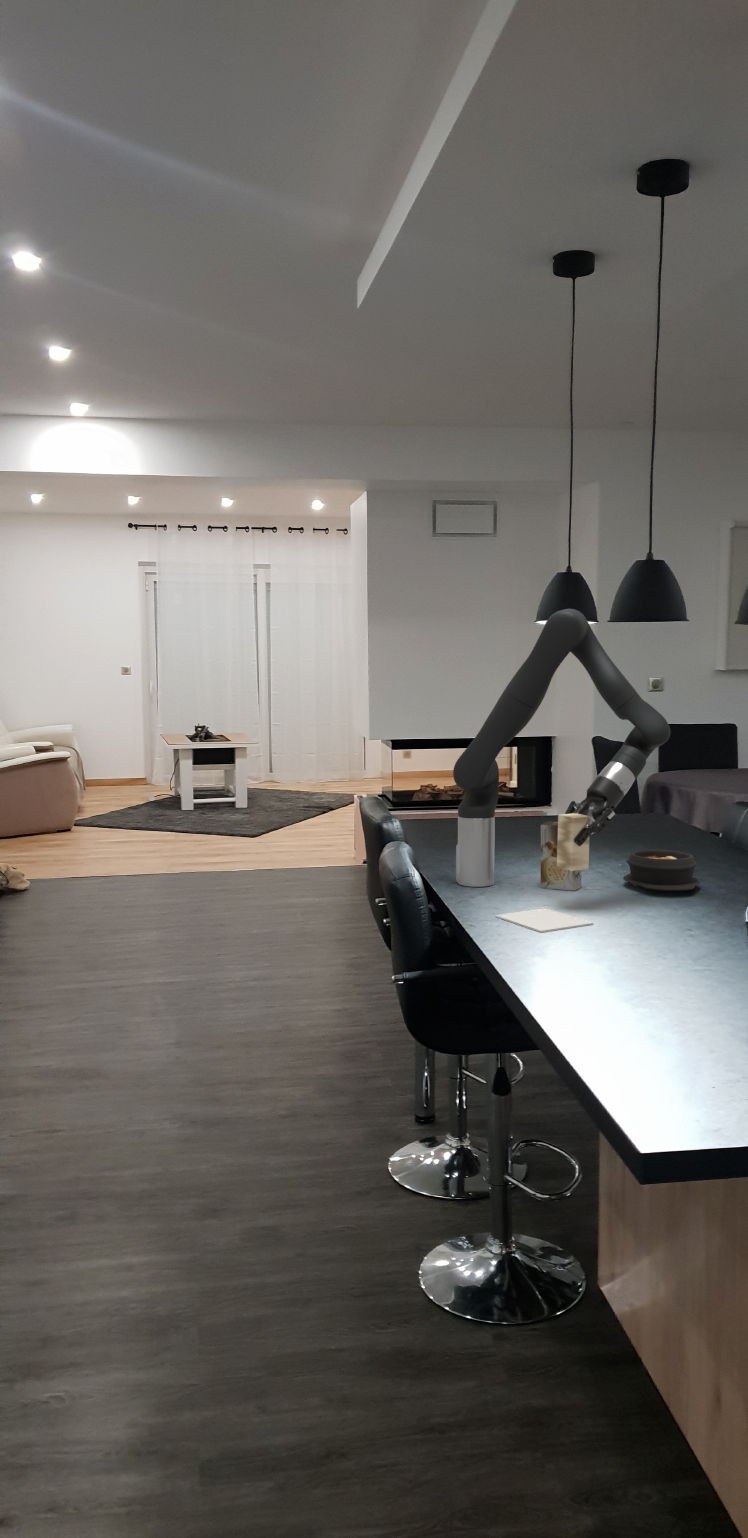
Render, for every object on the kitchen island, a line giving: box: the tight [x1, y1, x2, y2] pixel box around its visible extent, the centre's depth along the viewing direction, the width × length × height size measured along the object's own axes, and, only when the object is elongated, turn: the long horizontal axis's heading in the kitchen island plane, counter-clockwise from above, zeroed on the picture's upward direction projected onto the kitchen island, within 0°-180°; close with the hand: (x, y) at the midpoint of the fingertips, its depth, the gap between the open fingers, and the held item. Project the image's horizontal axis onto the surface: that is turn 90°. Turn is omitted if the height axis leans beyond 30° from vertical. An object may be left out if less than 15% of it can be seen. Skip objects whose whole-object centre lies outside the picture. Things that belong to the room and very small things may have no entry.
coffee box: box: [540, 820, 583, 891], centre depth 264 cm, size 9×6×16 cm
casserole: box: [622, 849, 701, 892], centre depth 265 cm, size 25×19×8 cm
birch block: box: [557, 813, 590, 871], centre depth 240 cm, size 5×5×12 cm
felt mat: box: [495, 907, 594, 934], centre depth 230 cm, size 16×14×1 cm
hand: (568, 841), depth 239 cm, fingers closed on birch block, 5 cm apart
